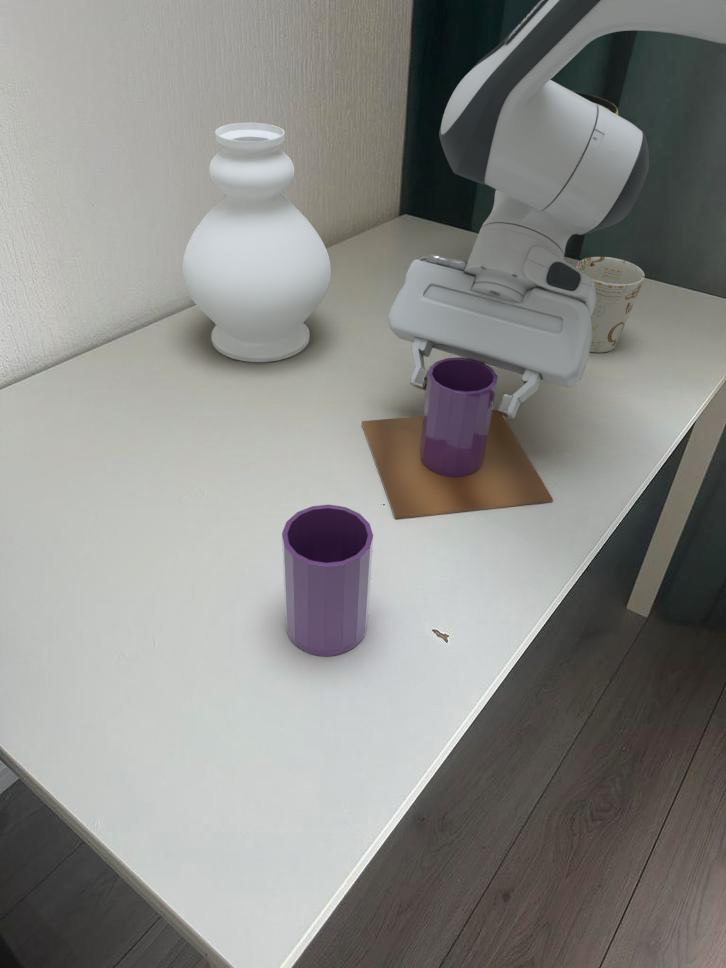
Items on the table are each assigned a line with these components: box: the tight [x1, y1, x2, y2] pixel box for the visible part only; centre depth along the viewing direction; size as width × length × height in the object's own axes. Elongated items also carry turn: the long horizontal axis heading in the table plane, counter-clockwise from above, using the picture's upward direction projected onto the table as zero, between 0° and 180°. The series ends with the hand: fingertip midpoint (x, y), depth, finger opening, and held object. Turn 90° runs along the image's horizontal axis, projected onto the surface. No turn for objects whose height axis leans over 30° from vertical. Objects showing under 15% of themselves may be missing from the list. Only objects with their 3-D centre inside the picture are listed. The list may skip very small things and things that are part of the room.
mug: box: [575, 256, 645, 353], centre depth 100 cm, size 8×13×10 cm, turn 41°
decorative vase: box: [182, 121, 332, 363], centre depth 92 cm, size 18×18×25 cm
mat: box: [361, 409, 554, 520], centre depth 81 cm, size 16×16×1 cm
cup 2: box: [420, 356, 498, 477], centre depth 77 cm, size 7×7×10 cm
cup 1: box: [281, 504, 374, 657], centre depth 60 cm, size 7×7×10 cm
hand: (460, 401), depth 76 cm, fingers open, 8 cm apart
